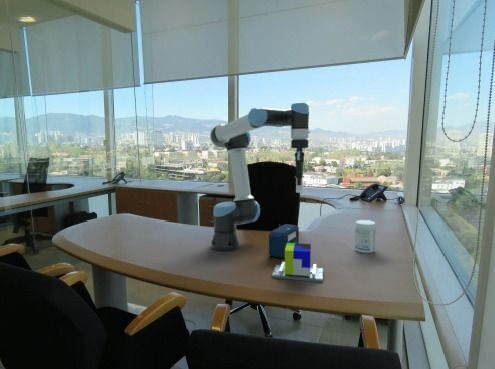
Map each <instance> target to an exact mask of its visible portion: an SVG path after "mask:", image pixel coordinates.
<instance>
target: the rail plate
mask: <svg viewBox="0 0 495 369" xmlns="http://www.w3.org/2000/svg"><path fill="white" fill-rule="evenodd" d="M323 276H324V268H322V267H321V268H320V267H317V264H316V263H314V264H313V266H310V276H301V275H288V274H285V261H282V262H281V264H276V265H275V267H274V269H273V272H272V275H271V278H275V279H285V280H293V281H294V280H295V281H296V280H297V281H307V282H316V283H318V282H319V283H323V282H324V281H323V280H324V279H323V278H324V277H323Z"/></svg>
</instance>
